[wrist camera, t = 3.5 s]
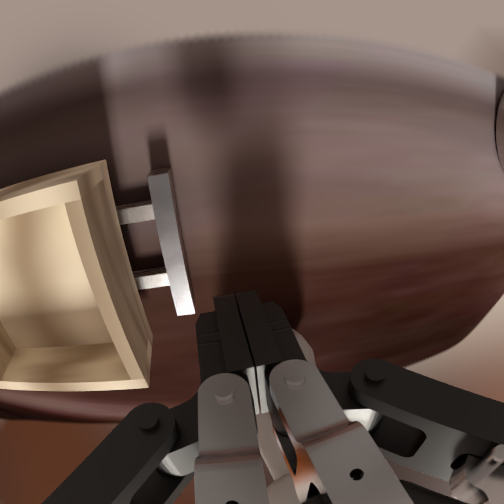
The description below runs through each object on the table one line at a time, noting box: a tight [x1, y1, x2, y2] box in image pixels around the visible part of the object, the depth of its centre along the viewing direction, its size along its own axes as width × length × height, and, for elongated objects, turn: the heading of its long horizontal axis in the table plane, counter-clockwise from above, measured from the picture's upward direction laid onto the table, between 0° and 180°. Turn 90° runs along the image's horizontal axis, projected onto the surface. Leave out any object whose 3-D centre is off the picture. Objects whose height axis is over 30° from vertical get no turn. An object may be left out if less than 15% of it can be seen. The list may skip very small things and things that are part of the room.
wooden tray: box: [0, 159, 153, 391], centre depth 13 cm, size 10×10×5 cm
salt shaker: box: [256, 328, 316, 504], centre depth 16 cm, size 6×6×13 cm
